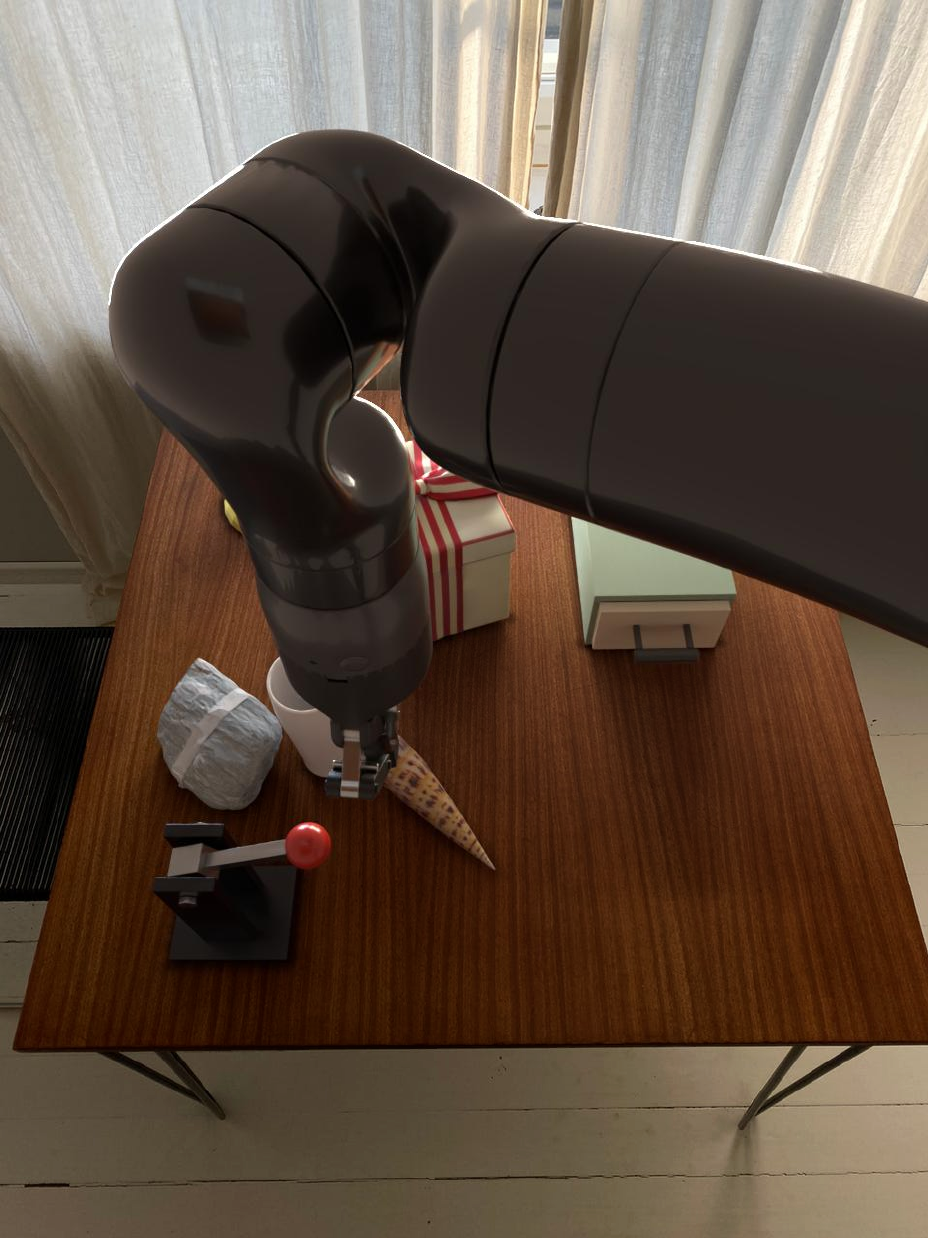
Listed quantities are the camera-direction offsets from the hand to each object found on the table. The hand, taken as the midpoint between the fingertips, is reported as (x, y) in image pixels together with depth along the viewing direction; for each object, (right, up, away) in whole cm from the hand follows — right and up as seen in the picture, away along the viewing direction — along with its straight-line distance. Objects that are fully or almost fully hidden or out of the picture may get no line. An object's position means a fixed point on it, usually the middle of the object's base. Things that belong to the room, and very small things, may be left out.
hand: (381, 757), depth 55 cm
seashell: (+2, -9, +27) cm, 29 cm away
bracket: (-15, -17, +22) cm, 31 cm away
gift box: (0, +13, +42) cm, 44 cm away
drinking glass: (-8, -5, +30) cm, 32 cm away
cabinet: (+25, +14, +42) cm, 50 cm away
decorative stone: (-18, -4, +31) cm, 36 cm away
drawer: (+25, +11, +39) cm, 47 cm away
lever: (-9, -9, +9) cm, 16 cm away
